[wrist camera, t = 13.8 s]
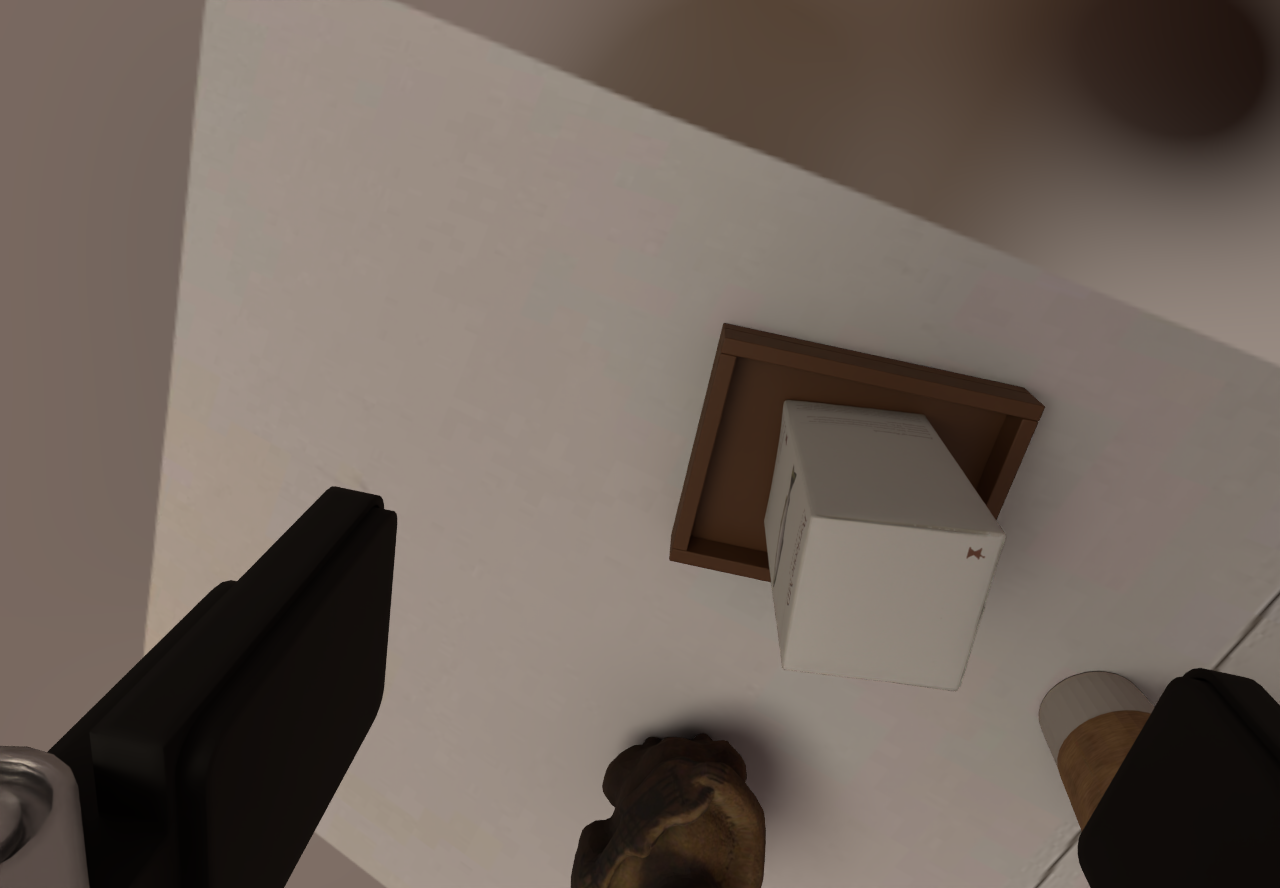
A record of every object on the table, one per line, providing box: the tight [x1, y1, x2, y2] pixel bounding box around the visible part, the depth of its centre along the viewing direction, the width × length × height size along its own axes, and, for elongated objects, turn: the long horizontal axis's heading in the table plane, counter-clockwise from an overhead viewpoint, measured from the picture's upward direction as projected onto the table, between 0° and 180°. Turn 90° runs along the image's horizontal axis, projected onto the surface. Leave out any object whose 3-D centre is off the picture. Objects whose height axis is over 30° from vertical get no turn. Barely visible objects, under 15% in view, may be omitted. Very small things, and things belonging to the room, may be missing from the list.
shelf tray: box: [669, 323, 1045, 582], centre depth 42 cm, size 13×16×3 cm
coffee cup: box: [1039, 672, 1155, 831], centre depth 41 cm, size 8×8×15 cm
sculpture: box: [571, 734, 766, 888], centre depth 45 cm, size 11×11×15 cm
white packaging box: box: [764, 400, 1006, 691], centre depth 36 cm, size 7×7×13 cm
